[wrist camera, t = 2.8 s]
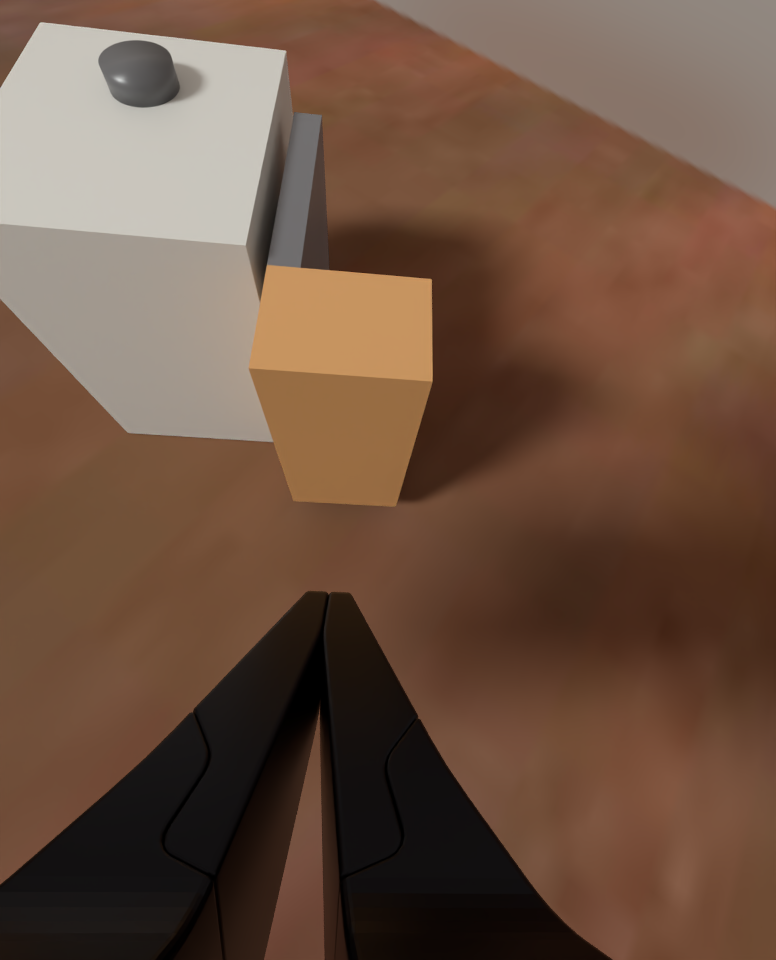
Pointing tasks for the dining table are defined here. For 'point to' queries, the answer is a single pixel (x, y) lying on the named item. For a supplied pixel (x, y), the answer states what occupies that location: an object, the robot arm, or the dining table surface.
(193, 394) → the block
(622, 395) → the dining table surface
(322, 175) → the side door
